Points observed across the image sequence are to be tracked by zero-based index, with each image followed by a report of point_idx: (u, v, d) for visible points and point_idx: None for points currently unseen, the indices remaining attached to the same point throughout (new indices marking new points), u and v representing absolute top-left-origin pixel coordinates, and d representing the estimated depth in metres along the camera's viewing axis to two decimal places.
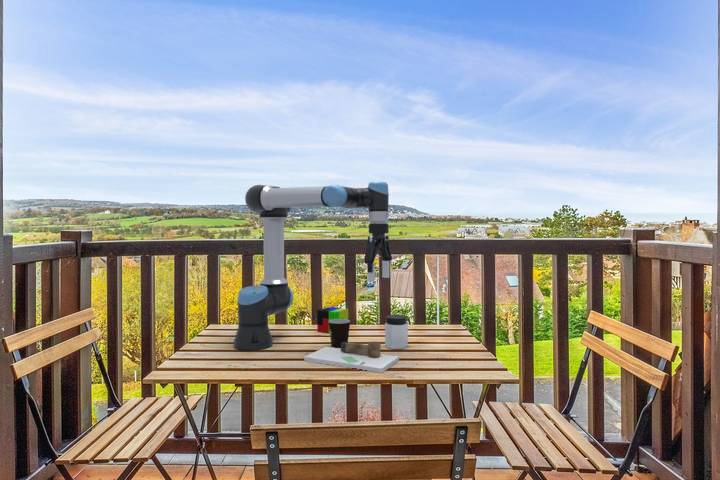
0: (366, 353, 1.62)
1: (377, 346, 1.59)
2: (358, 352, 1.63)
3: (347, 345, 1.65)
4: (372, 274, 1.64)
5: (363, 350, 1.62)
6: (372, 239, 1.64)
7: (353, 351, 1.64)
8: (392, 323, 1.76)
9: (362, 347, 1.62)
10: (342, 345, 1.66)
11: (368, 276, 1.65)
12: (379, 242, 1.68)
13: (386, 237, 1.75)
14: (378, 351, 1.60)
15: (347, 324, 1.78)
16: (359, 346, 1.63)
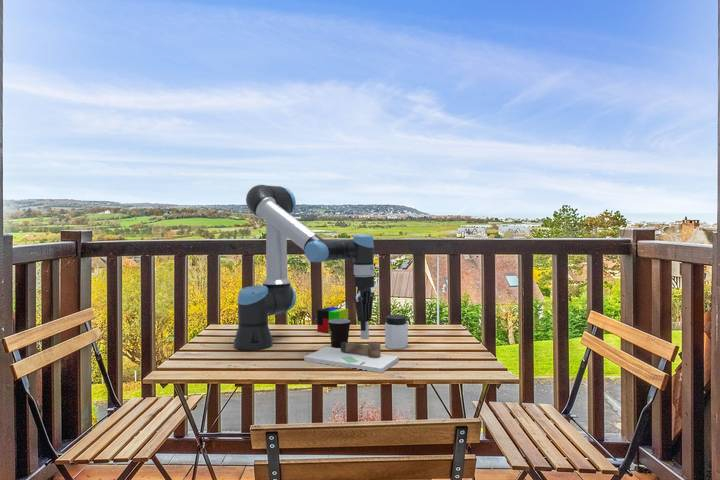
0: (366, 353, 1.62)
1: (377, 346, 1.59)
2: (358, 352, 1.63)
3: (347, 345, 1.65)
4: (365, 332, 1.69)
5: (363, 350, 1.62)
6: (358, 300, 1.64)
7: (353, 351, 1.64)
8: (392, 323, 1.76)
9: (362, 347, 1.62)
10: (342, 345, 1.66)
11: (361, 333, 1.69)
12: (365, 297, 1.67)
13: (372, 293, 1.74)
14: (378, 351, 1.60)
15: (347, 324, 1.78)
16: (359, 346, 1.63)
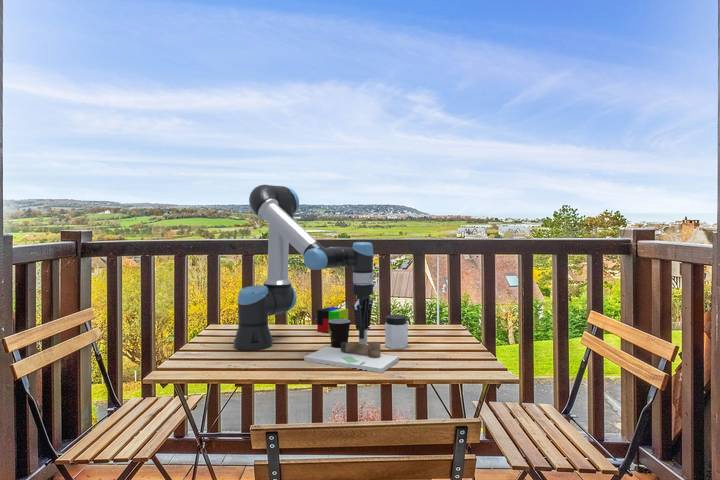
0: (366, 353, 1.62)
1: (377, 346, 1.59)
2: (358, 352, 1.63)
3: (347, 345, 1.65)
4: (364, 340, 1.68)
5: (363, 350, 1.62)
6: (357, 308, 1.63)
7: (353, 351, 1.64)
8: (392, 323, 1.76)
9: (362, 347, 1.62)
10: (342, 345, 1.66)
11: (360, 341, 1.69)
12: (364, 306, 1.66)
13: (370, 301, 1.73)
14: (378, 351, 1.60)
15: (347, 324, 1.78)
16: (359, 346, 1.63)
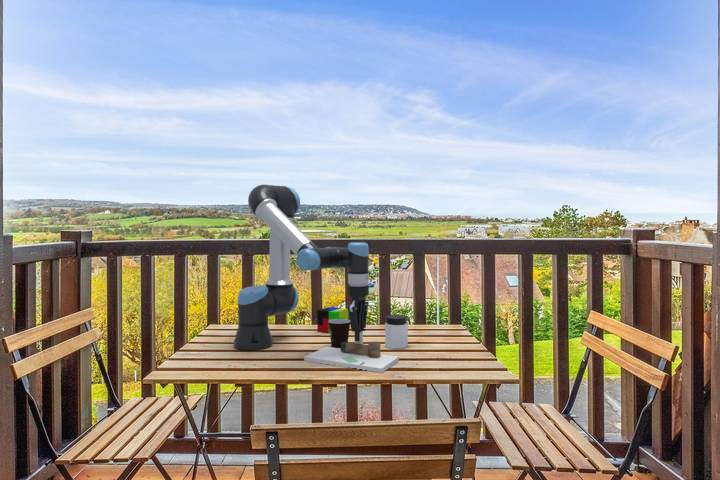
0: (366, 353, 1.62)
1: (377, 346, 1.59)
2: (358, 352, 1.63)
3: (347, 345, 1.65)
4: (359, 342, 1.65)
5: (363, 350, 1.62)
6: (352, 310, 1.60)
7: (353, 351, 1.64)
8: (392, 323, 1.76)
9: (362, 347, 1.62)
10: (342, 345, 1.66)
11: None
12: (360, 307, 1.63)
13: (366, 302, 1.70)
14: (378, 351, 1.60)
15: (347, 324, 1.78)
16: (359, 346, 1.63)
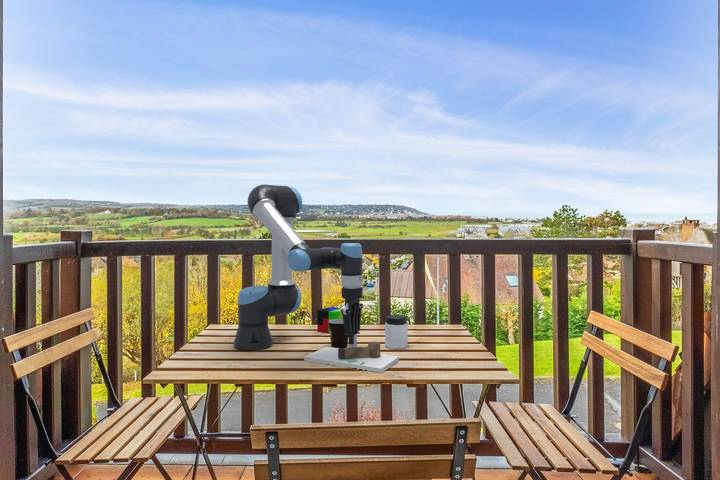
0: (368, 355, 1.60)
1: None
2: (359, 355, 1.59)
3: (347, 351, 1.57)
4: (353, 346, 1.61)
5: (364, 352, 1.59)
6: (346, 313, 1.56)
7: (353, 356, 1.58)
8: (392, 323, 1.76)
9: (363, 349, 1.59)
10: (341, 352, 1.57)
11: (350, 347, 1.61)
12: (353, 310, 1.59)
13: (360, 304, 1.65)
14: None
15: None
16: (360, 349, 1.59)
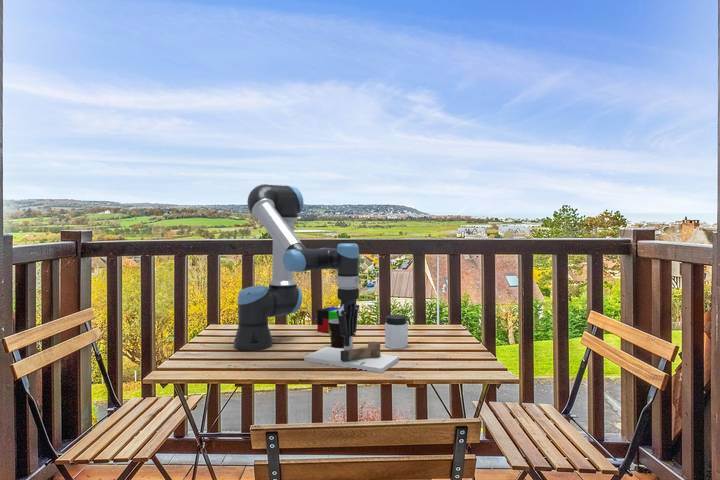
0: (369, 355, 1.59)
1: None
2: (361, 356, 1.58)
3: (350, 352, 1.55)
4: (349, 348, 1.58)
5: (366, 353, 1.58)
6: (341, 314, 1.53)
7: (356, 357, 1.57)
8: (392, 323, 1.76)
9: (365, 350, 1.58)
10: (345, 354, 1.54)
11: (345, 349, 1.59)
12: (349, 311, 1.56)
13: (357, 306, 1.63)
14: None
15: None
16: (362, 350, 1.58)
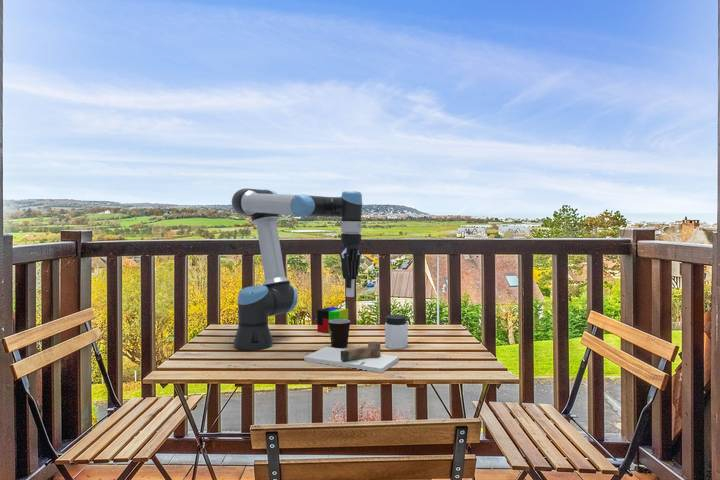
0: (369, 355, 1.59)
1: None
2: (361, 356, 1.58)
3: (350, 352, 1.55)
4: (350, 290, 1.68)
5: (366, 353, 1.58)
6: (344, 256, 1.63)
7: (356, 357, 1.57)
8: (392, 323, 1.76)
9: (365, 350, 1.58)
10: (345, 354, 1.54)
11: (347, 291, 1.68)
12: (352, 255, 1.66)
13: (359, 252, 1.72)
14: None
15: (347, 324, 1.78)
16: (362, 350, 1.58)
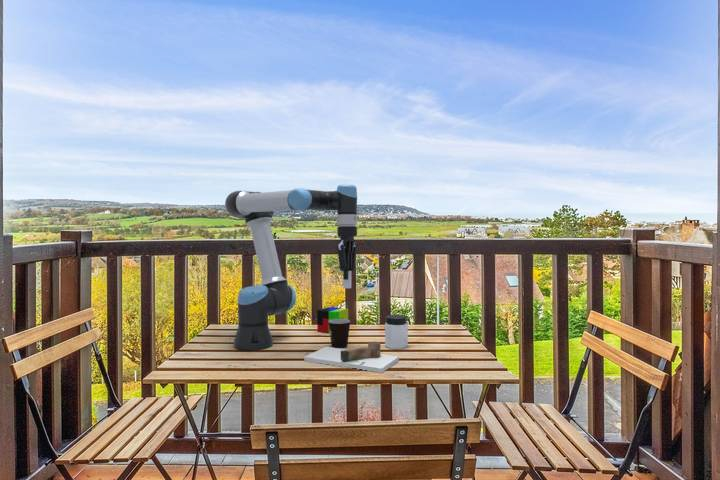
0: (369, 355, 1.59)
1: None
2: (361, 356, 1.58)
3: (350, 352, 1.55)
4: (348, 281, 1.71)
5: (366, 353, 1.58)
6: (341, 248, 1.66)
7: (356, 357, 1.57)
8: (392, 323, 1.76)
9: (365, 350, 1.58)
10: (345, 354, 1.54)
11: (344, 283, 1.72)
12: (348, 247, 1.69)
13: (355, 244, 1.76)
14: None
15: (347, 324, 1.78)
16: (362, 350, 1.58)
